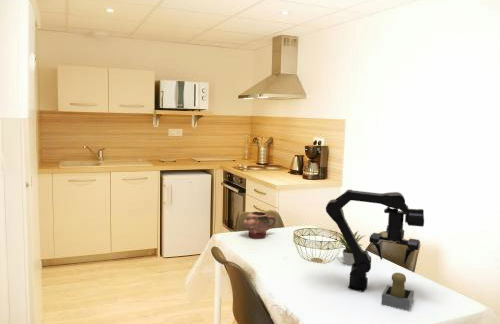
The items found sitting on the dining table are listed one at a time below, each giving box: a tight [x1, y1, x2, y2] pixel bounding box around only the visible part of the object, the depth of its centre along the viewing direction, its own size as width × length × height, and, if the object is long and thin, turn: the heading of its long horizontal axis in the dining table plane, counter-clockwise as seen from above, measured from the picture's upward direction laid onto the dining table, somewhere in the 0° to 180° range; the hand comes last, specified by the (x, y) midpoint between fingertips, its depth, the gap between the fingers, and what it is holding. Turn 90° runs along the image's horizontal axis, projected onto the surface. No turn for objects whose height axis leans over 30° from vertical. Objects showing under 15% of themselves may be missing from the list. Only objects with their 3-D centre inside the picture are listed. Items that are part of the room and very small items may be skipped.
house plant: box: [338, 230, 365, 267], centre depth 200 cm, size 14×14×16 cm
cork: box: [390, 272, 407, 298], centre depth 159 cm, size 6×6×11 cm
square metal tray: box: [381, 284, 415, 312], centre depth 159 cm, size 10×10×4 cm
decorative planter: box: [243, 211, 277, 240], centre depth 240 cm, size 20×12×14 cm, turn 116°
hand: (393, 261), depth 167 cm, fingers open, 9 cm apart
